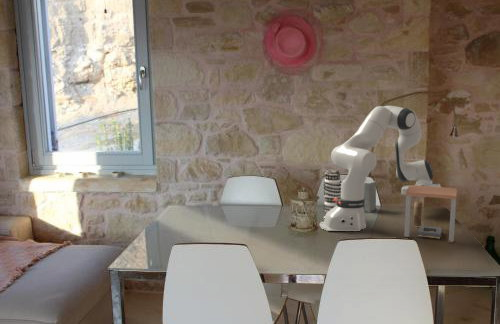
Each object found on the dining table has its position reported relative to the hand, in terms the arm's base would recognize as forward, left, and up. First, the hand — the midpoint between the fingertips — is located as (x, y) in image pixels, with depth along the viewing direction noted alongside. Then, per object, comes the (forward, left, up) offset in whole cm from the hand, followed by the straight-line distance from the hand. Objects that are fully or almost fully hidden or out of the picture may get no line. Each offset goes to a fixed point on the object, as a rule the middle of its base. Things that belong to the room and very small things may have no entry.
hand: (420, 195), depth 269 cm
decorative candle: (-42, +11, -13) cm, 46 cm away
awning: (-6, -24, -13) cm, 28 cm away
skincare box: (-19, +22, -13) cm, 32 cm away
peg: (-6, -11, -13) cm, 18 cm away
